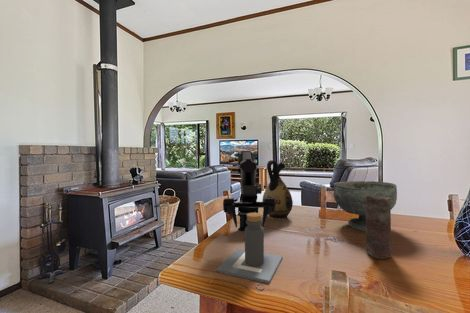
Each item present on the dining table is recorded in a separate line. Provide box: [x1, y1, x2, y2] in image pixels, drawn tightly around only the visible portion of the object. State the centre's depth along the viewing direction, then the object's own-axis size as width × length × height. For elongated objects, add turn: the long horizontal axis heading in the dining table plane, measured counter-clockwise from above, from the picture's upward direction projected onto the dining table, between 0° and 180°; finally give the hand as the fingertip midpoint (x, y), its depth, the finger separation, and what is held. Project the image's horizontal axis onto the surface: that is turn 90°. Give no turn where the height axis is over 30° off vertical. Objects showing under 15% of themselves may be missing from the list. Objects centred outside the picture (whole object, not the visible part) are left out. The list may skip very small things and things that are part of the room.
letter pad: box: [216, 248, 284, 284], centre depth 75 cm, size 16×16×1 cm
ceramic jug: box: [261, 159, 294, 221], centre depth 124 cm, size 17×15×30 cm
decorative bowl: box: [333, 180, 398, 232], centre depth 110 cm, size 26×26×20 cm
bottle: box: [244, 212, 265, 266], centre depth 75 cm, size 6×6×15 cm
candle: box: [365, 195, 392, 260], centre depth 81 cm, size 8×7×20 cm
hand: (250, 226), depth 82 cm, fingers open, 9 cm apart
